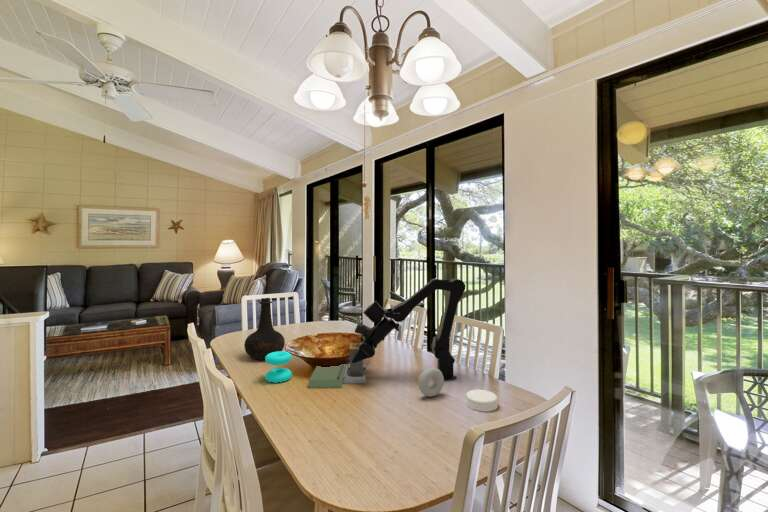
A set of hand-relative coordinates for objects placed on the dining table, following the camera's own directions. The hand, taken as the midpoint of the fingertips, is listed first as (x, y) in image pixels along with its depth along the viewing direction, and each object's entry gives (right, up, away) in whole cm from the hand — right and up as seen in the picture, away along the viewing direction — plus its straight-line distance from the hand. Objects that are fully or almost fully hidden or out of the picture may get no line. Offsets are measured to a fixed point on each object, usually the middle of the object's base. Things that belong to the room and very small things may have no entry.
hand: (353, 358), depth 143 cm
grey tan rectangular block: (+1, -8, 0) cm, 8 cm away
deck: (-5, -8, 0) cm, 9 cm away
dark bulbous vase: (-44, -7, +28) cm, 52 cm away
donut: (+29, -8, -18) cm, 35 cm away
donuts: (-29, -8, -1) cm, 30 cm away
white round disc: (+44, -8, -25) cm, 51 cm away
